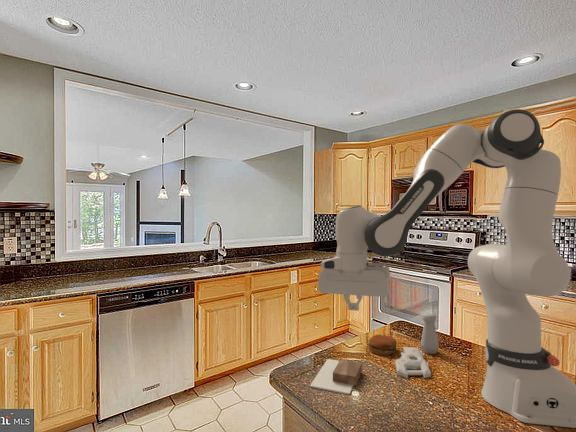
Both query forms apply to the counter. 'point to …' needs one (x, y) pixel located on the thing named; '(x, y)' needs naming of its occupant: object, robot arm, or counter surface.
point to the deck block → (347, 372)
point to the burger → (382, 344)
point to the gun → (412, 363)
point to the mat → (330, 379)
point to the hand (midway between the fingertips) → (353, 309)
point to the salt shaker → (429, 334)
